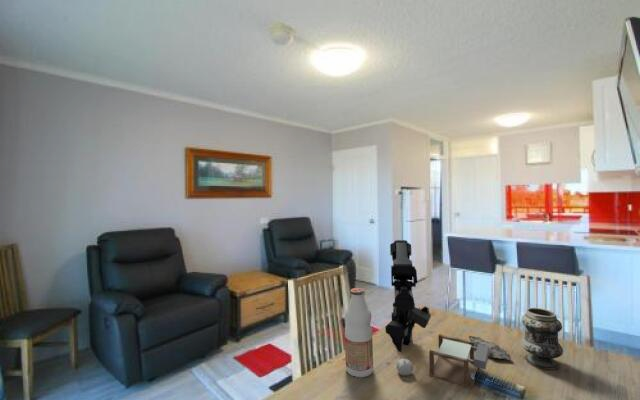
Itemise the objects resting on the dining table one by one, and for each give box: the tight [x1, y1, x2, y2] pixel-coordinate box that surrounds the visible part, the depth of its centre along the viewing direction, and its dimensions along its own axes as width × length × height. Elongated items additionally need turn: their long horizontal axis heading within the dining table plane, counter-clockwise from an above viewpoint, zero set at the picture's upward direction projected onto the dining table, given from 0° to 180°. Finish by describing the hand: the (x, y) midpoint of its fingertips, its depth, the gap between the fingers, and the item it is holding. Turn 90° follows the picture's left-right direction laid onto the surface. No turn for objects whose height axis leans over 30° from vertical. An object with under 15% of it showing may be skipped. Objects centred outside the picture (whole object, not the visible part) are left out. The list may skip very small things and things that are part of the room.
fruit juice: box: [344, 287, 374, 378], centre depth 108 cm, size 9×9×28 cm
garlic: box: [396, 358, 414, 376], centre depth 105 cm, size 6×5×5 cm
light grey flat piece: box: [437, 339, 489, 370], centre depth 105 cm, size 14×11×2 cm
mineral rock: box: [468, 335, 512, 361], centre depth 117 cm, size 15×8×4 cm, turn 15°
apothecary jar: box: [520, 307, 564, 371], centre depth 110 cm, size 12×12×18 cm
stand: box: [428, 333, 479, 389], centre depth 106 cm, size 13×15×8 cm
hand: (404, 345), depth 105 cm, fingers open, 9 cm apart
